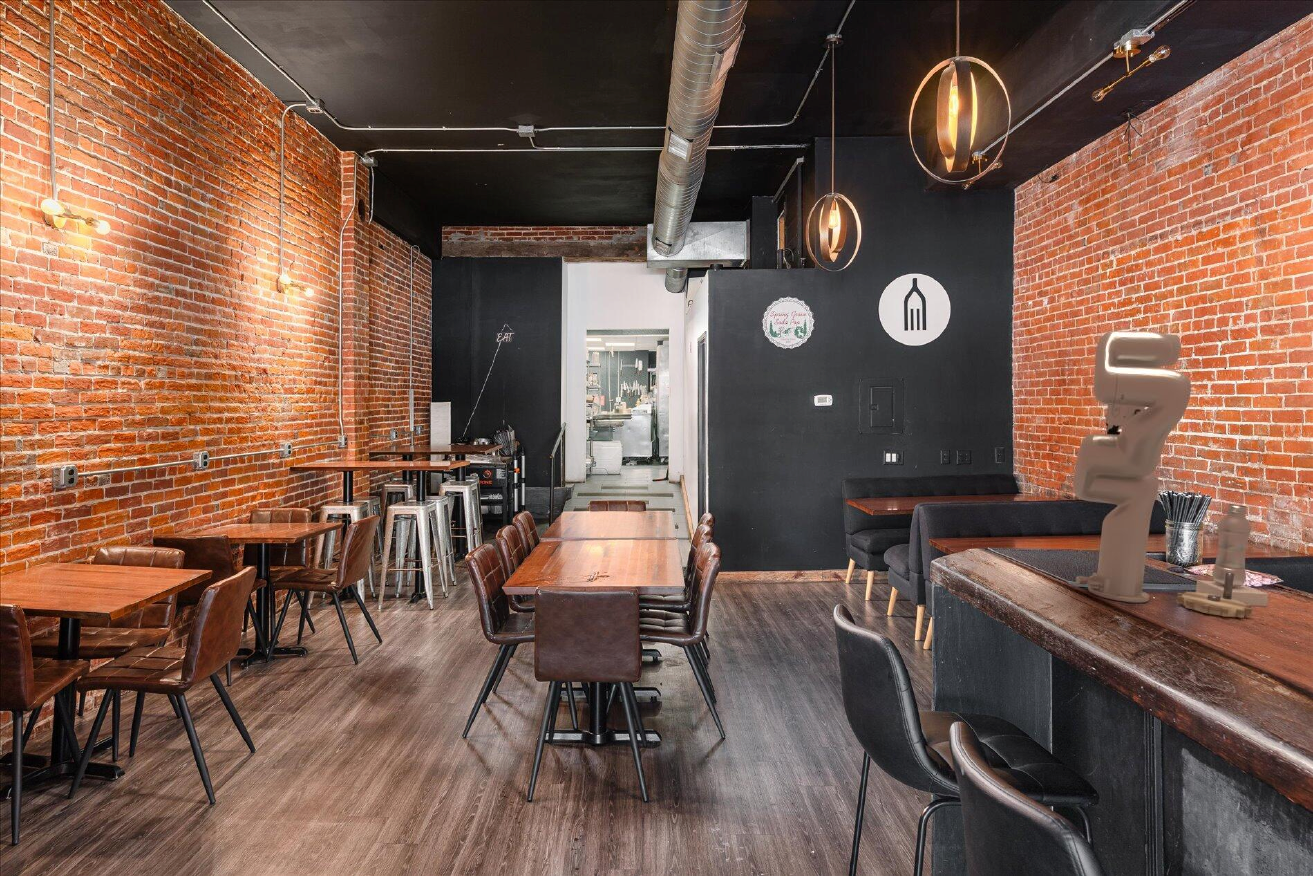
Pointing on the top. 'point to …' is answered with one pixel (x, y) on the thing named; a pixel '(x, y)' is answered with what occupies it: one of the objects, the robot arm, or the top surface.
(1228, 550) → the plastic bottle
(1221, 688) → the top surface
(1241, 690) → the top surface
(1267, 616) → the top surface
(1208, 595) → the base with upright peg
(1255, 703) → the top surface
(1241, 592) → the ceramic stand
